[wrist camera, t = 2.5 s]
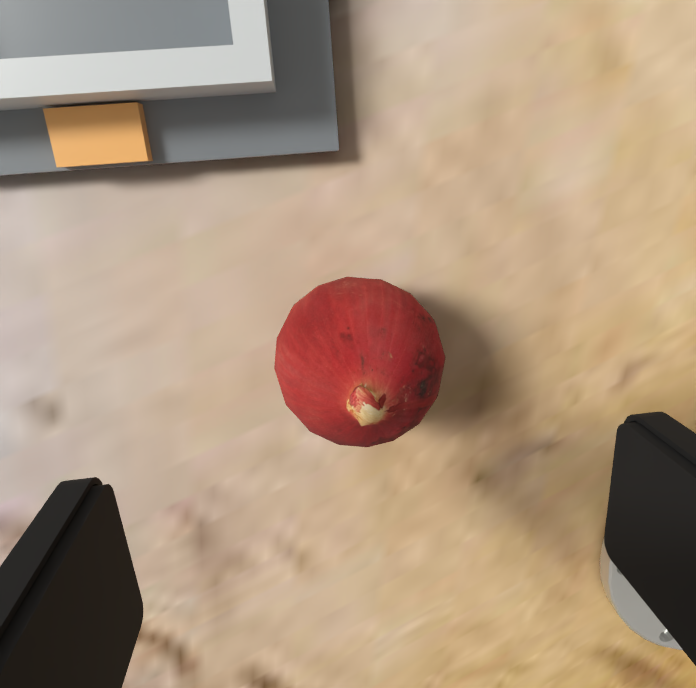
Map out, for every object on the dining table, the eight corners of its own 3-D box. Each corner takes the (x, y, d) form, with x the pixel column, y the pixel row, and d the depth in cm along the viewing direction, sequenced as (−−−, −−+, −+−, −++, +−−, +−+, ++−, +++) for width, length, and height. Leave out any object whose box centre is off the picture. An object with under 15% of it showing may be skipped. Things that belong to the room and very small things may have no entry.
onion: (429, 268, 21) (498, 323, 14) (408, 397, 23) (459, 509, 16) (285, 253, 21) (275, 303, 13) (275, 388, 22) (261, 500, 15)
